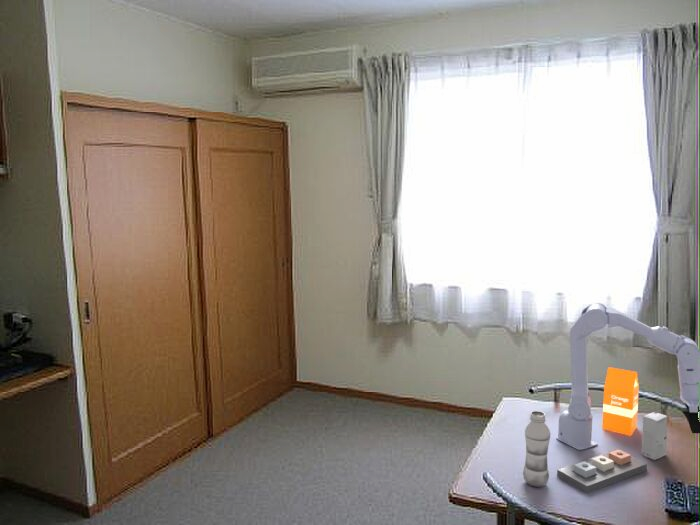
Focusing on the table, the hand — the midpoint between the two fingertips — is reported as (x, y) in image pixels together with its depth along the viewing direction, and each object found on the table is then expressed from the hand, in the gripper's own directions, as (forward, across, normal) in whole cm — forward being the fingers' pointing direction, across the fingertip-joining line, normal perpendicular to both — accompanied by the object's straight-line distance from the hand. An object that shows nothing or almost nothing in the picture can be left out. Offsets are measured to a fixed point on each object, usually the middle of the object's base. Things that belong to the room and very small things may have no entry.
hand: (696, 427), depth 165 cm
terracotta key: (+5, -13, +20) cm, 24 cm away
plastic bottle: (+4, -33, +39) cm, 51 cm away
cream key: (+5, -19, +23) cm, 30 cm away
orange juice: (+8, +15, +22) cm, 28 cm away
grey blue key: (+4, -25, +27) cm, 37 cm away
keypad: (+7, -19, +24) cm, 31 cm away
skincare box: (+9, 0, +12) cm, 15 cm away
